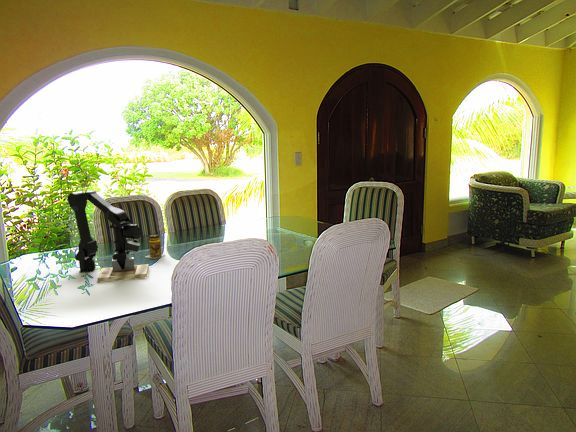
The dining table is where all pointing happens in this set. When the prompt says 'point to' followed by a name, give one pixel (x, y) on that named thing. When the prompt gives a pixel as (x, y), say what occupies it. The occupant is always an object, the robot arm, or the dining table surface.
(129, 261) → the panel
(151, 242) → the condiment
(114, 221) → the robot arm
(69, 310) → the dining table surface
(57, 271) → the dining table surface
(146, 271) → the rack
